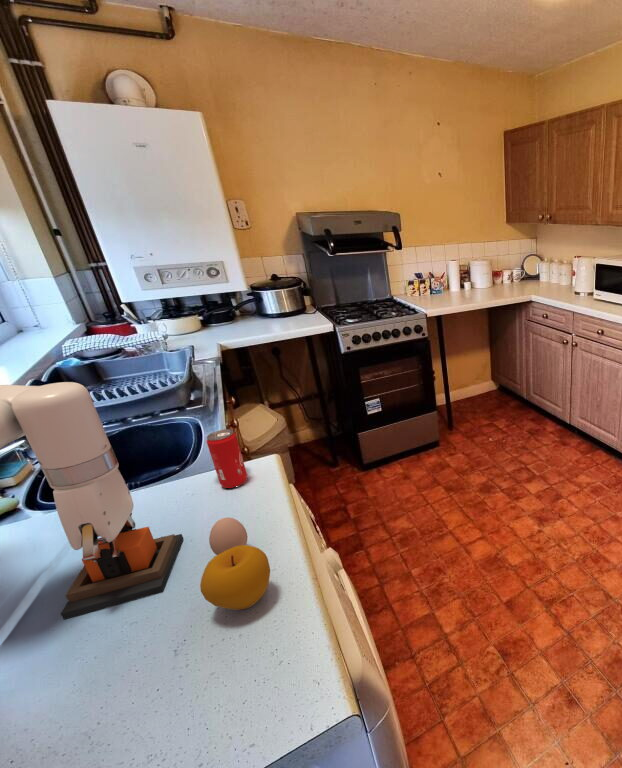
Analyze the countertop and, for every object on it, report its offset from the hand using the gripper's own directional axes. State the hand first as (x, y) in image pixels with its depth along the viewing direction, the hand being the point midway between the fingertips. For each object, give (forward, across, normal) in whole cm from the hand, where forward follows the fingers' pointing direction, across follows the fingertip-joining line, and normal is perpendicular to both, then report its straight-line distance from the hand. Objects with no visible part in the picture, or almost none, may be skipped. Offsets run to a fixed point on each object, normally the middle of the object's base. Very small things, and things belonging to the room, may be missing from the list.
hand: (125, 562), depth 70 cm
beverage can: (+3, -23, +12) cm, 26 cm away
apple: (+3, +14, +18) cm, 23 cm away
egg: (+3, +2, +15) cm, 15 cm away
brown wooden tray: (+3, 0, 0) cm, 3 cm away
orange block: (0, 0, 0) cm, 0 cm away
